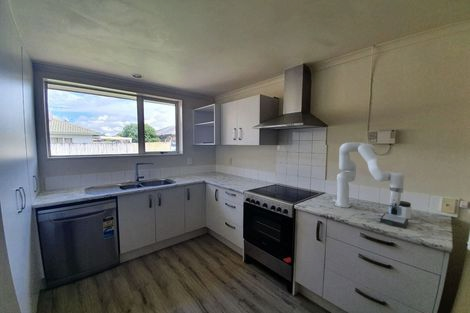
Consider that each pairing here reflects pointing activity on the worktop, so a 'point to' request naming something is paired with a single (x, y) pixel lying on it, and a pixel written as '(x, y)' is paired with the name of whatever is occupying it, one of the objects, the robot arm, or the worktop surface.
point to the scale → (394, 220)
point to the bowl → (399, 210)
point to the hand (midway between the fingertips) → (394, 212)
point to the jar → (405, 209)
